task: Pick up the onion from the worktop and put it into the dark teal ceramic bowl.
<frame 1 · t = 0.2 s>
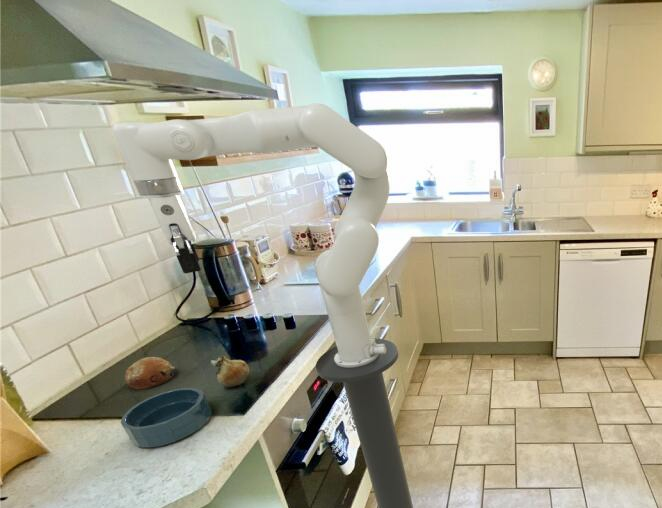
hand: (192, 266, 95), 31 cm above the worktop, tool pointing down, fingers open, 9 cm apart
bowl: (174, 426, 93), on the worktop
bread roll: (155, 380, 112), on the worktop
onion: (237, 384, 108), on the worktop
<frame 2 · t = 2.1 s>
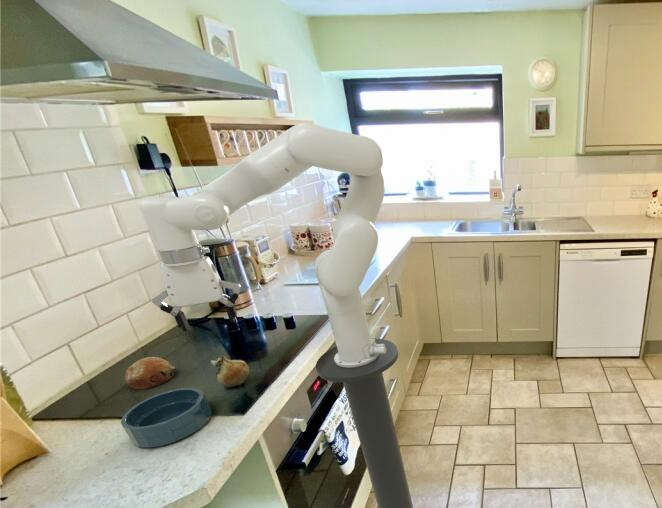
hand: (210, 324, 100), 17 cm above the worktop, tool pointing down, fingers open, 9 cm apart
nothing on the worktop moved.
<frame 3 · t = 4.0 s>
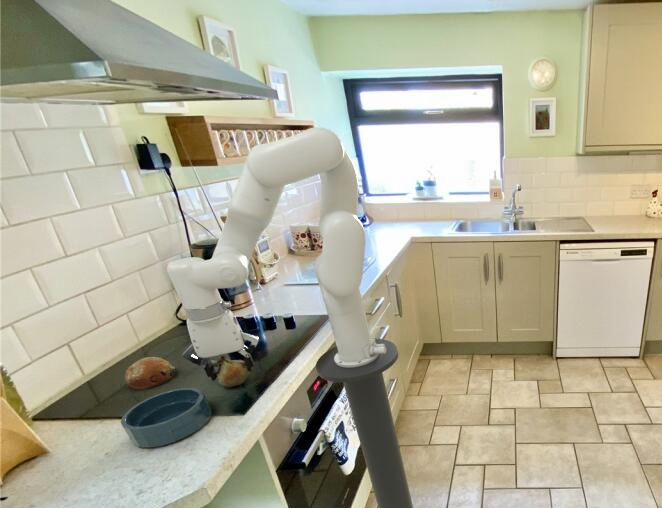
hand: (233, 373, 107), 3 cm above the worktop, tool pointing down, fingers closed on onion, 7 cm apart
onion: (237, 384, 108), on the worktop, touching gripper
everything else where it was.
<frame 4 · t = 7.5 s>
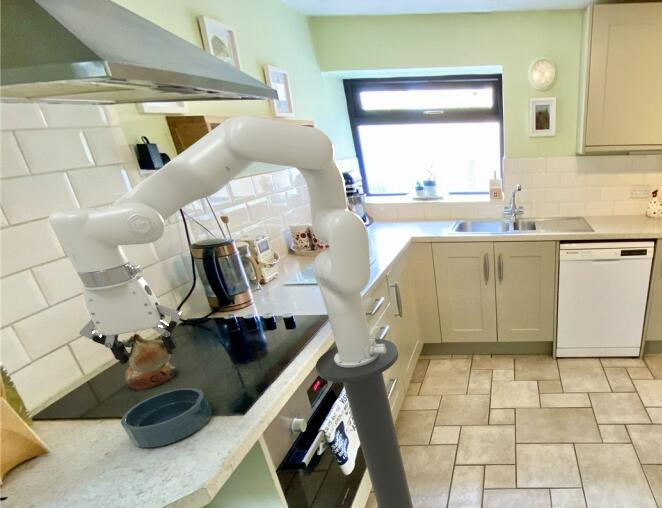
hand: (149, 355, 87), 17 cm above the worktop, tool pointing down, fingers closed on onion, 7 cm apart
onion: (156, 369, 89), point 14 cm above the worktop, touching gripper
everything else where it was.
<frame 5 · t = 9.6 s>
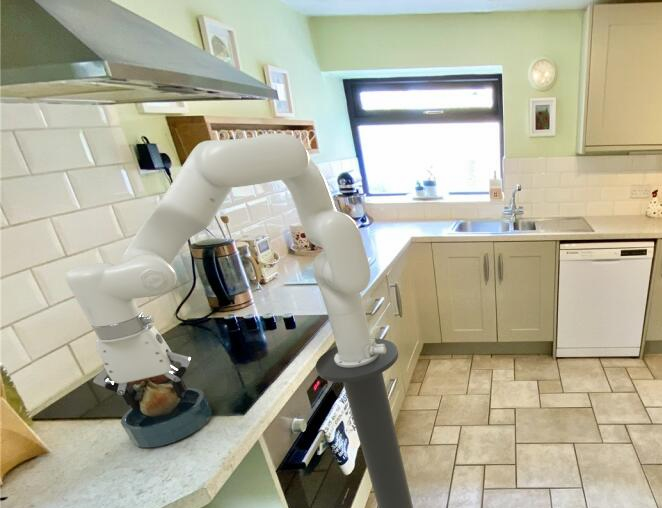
hand: (160, 399, 90), 7 cm above the worktop, tool pointing down, fingers closed on onion, 7 cm apart
onion: (166, 412, 92), point 4 cm above the worktop, touching gripper
everything else where it was.
when the fingers open (4 cm above the worktop, at t = 11.3 s): onion stays where it is, resting on bowl.
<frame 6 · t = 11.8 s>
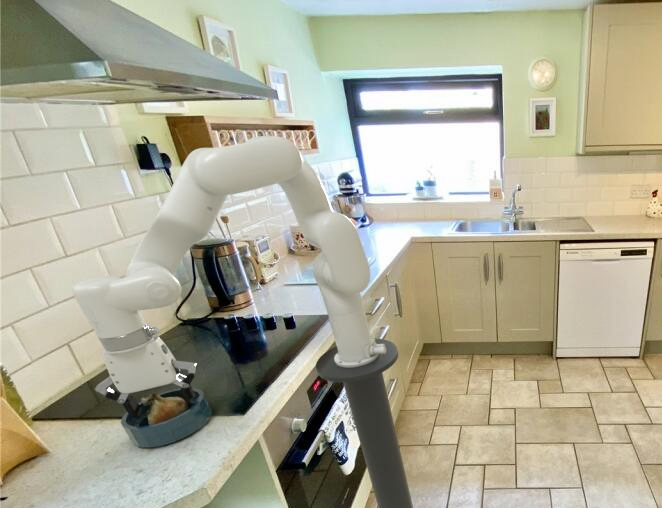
hand: (164, 407, 91), 5 cm above the worktop, tool pointing down, fingers open, 9 cm apart
onion: (173, 425, 93), resting on bowl
everything else where it was.
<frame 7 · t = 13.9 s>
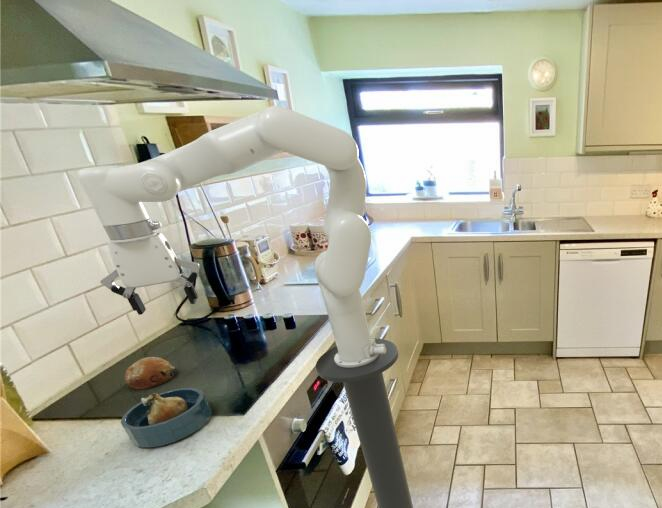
hand: (168, 307, 93), 24 cm above the worktop, tool pointing down, fingers open, 9 cm apart
nothing on the worktop moved.
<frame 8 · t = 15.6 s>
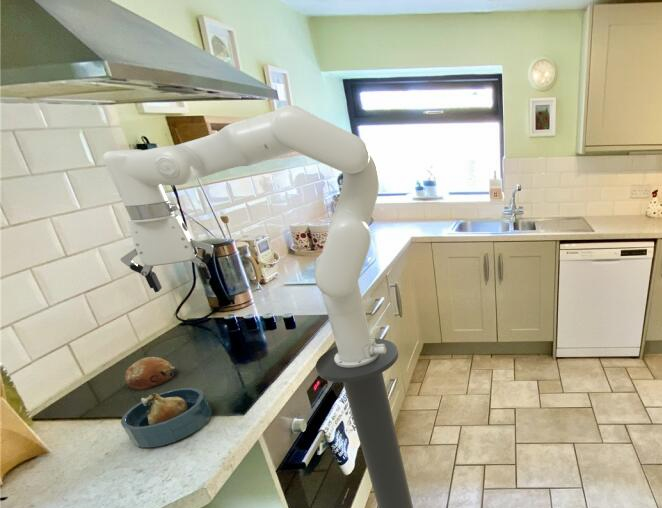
hand: (183, 286, 98), 26 cm above the worktop, tool pointing down, fingers open, 9 cm apart
nothing on the worktop moved.
at the end: onion inside the target area in the bowl (0.1 cm from its centre), point 0.4 cm above the bowl's base; the gripper is holding nothing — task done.
